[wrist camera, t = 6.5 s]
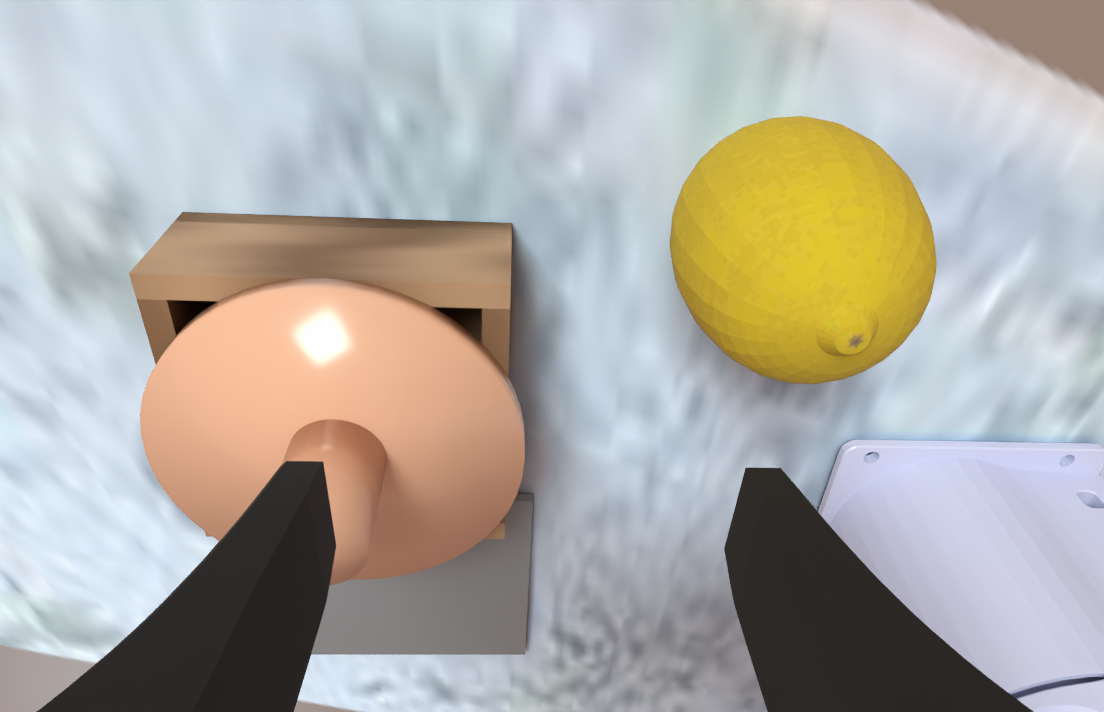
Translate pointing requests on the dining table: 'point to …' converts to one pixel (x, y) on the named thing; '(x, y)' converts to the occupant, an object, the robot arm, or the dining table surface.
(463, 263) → the wooden open tray
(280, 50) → the dining table surface
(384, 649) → the mat
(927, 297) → the lemon
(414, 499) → the lid
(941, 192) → the dining table surface
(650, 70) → the dining table surface
